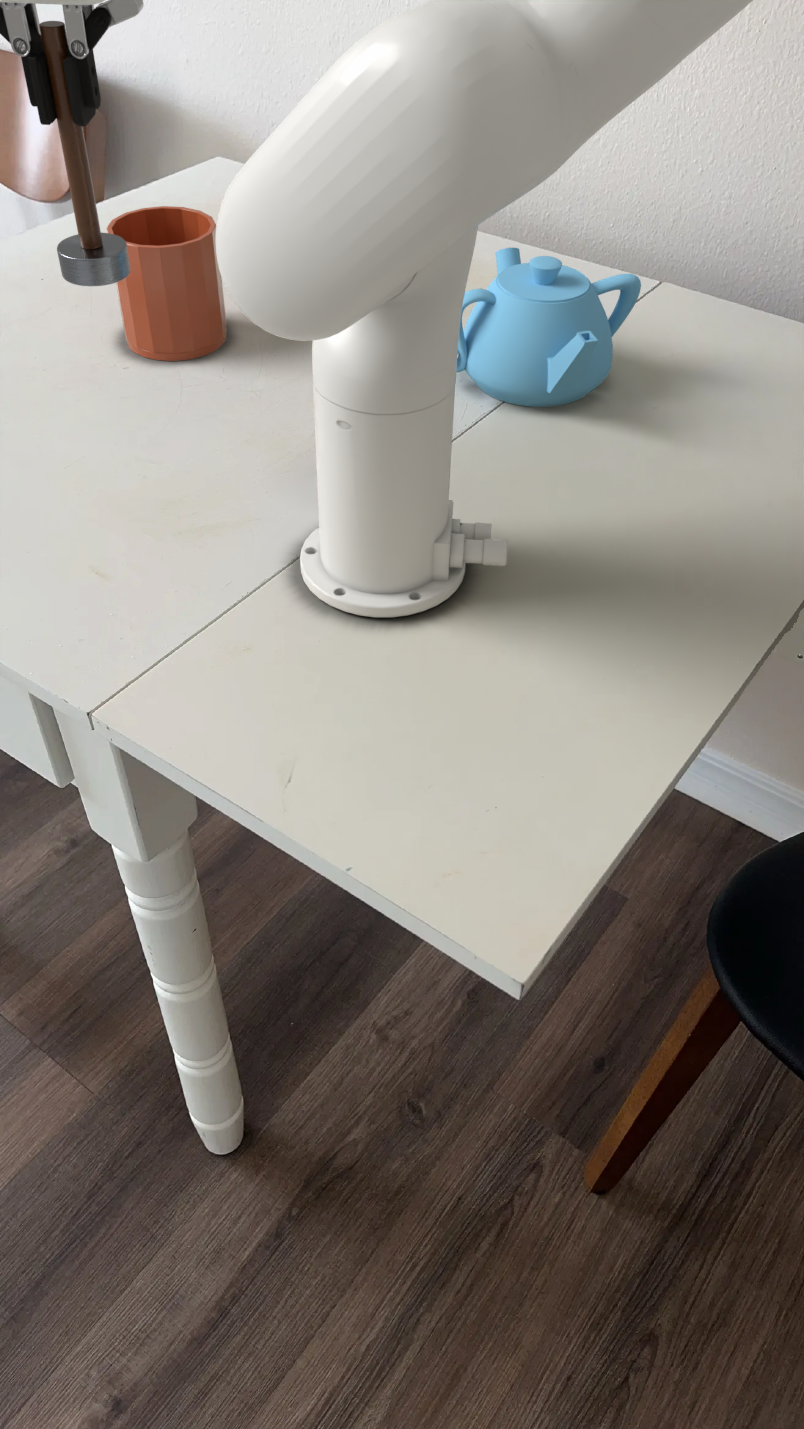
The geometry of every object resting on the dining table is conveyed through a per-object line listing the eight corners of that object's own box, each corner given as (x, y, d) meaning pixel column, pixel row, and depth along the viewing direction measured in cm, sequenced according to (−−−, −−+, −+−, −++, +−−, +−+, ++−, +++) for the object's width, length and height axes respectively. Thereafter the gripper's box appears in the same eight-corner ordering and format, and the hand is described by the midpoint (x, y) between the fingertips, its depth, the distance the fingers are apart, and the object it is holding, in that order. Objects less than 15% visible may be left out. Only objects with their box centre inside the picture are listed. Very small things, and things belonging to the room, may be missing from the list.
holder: (234, 318, 112) (224, 208, 105) (216, 363, 105) (203, 249, 97) (140, 313, 113) (122, 204, 105) (115, 358, 106) (94, 244, 98)
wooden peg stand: (137, 260, 82) (100, 15, 71) (122, 288, 78) (80, 35, 67) (72, 257, 82) (24, 12, 71) (53, 285, 79) (0, 32, 67)
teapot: (637, 354, 108) (657, 240, 100) (581, 435, 97) (599, 314, 89) (495, 322, 113) (503, 211, 105) (426, 396, 102) (430, 278, 94)
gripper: (-165, -243, 57) (-66, 133, 70) (128, -233, 57) (173, 143, 70) (-110, -254, 63) (-28, 98, 76) (158, -245, 62) (194, 107, 75)
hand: (68, 117), depth 73 cm, fingers closed on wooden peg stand
